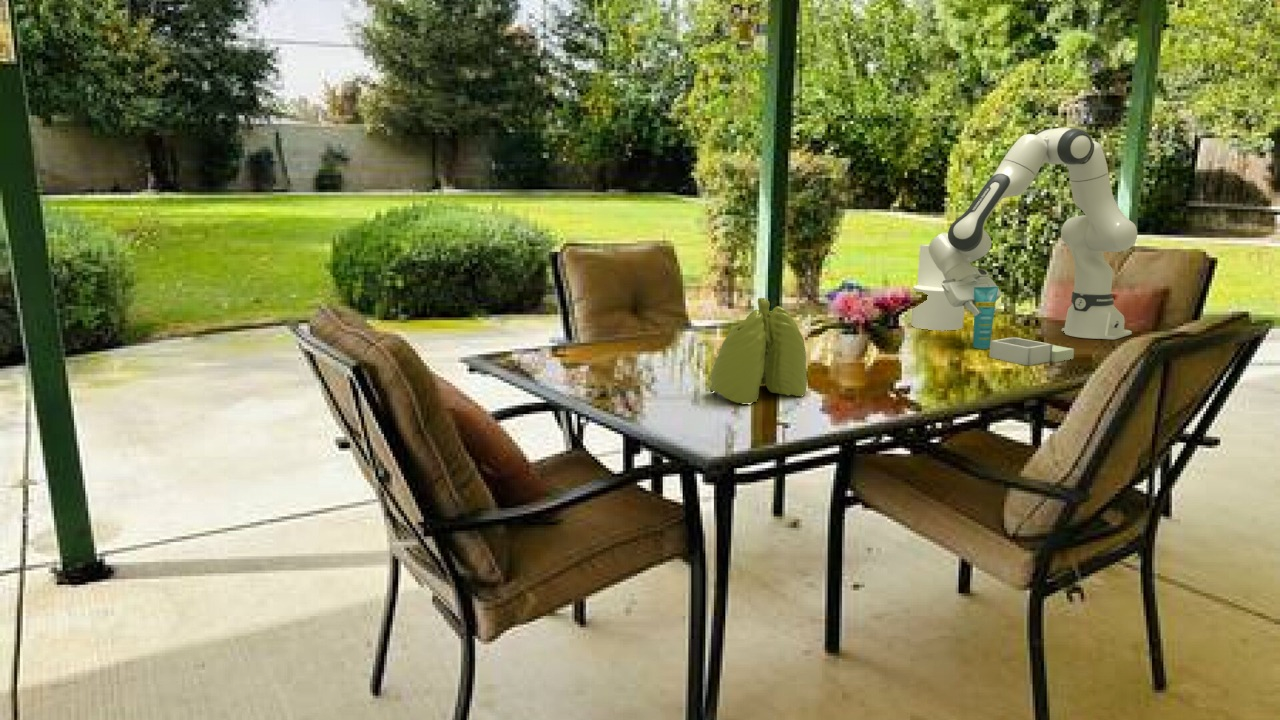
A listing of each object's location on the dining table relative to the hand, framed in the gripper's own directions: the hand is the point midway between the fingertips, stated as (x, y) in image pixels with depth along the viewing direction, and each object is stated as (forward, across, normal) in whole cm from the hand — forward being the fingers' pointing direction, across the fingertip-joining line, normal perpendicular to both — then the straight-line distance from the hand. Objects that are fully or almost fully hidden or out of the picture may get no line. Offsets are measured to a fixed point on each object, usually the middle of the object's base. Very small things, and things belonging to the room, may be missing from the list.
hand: (986, 313), depth 278 cm
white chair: (-16, +17, +32) cm, 39 cm away
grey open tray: (+19, 0, -4) cm, 20 cm away
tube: (+7, 0, +8) cm, 11 cm away
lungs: (+14, -94, +2) cm, 95 cm away
